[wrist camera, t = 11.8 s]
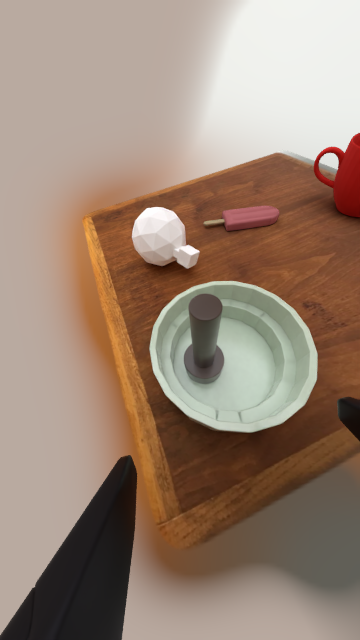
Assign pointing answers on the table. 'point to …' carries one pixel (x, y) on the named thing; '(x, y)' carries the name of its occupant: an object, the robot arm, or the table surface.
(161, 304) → the table surface
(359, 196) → the ceramic cup
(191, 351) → the pestle
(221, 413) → the bowl
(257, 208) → the popsicle
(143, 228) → the perfume bottle
